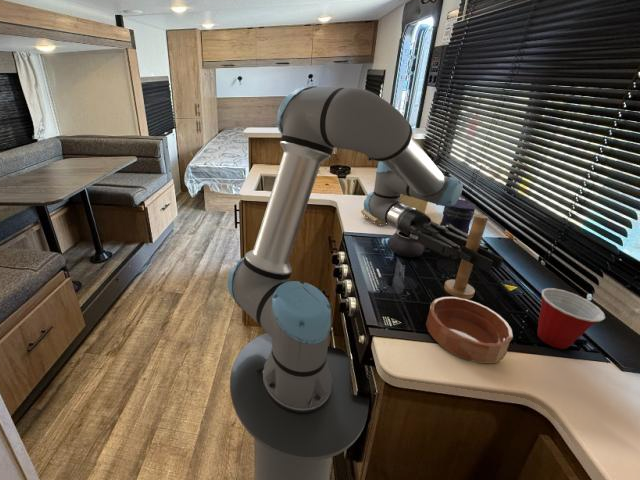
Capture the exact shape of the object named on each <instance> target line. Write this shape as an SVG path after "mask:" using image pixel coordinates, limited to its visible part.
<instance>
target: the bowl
mask: <svg viewBox="0 0 640 480" xmlns="http://www.w3.org/2000/svg"><path fill="white" fill-rule="evenodd" d="M425 326H426V329H427V332H428V333H429V335H430V336H431V337H432V339H433V340H434V341H435V342H436V343H438V344H439V345H440V346H441V347H442V348H443V349H445V350H447V351H448V352H451V353H452V354H454V355H455V356H457V357H460V358H463V359H465V360H468V361H472V362H475V363H476V362H477V363H481V364H490V363H491V364H494V363H497V362H499V361H502V360H504V358H505V356H506V355H507V354H508V353H507V352H508V350H509V349H510V346H511V343H512V341H513V339H514V334H513V329H512V327H511V326H510V325H509V323H508V321H507V320H505V319H504V318H503V317H502V316H501V315H500V314H499V313H497V312H496V311H494V310H493V309H491V308H489V307H488V306H485V305H483V304H481V303H480V302H476V301H473V300H471V299H462V298H458V297H455V296H441V297H438V298H435V299H434V300H433V301H432V302H431V303H430V306H429V310H428V313H427V317H426V320H425Z"/></svg>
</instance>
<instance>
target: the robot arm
mask: <svg viewBox="0 0 640 480" xmlns="http://www.w3.org/2000/svg"><path fill="white" fill-rule="evenodd" d="M276 124H277V125H278V126H277V128H278V129H277V130H278V131H279V133H280V134H281V136H280V140H279V144H280V146H281V148H282V150H283V153H282V157H281V160H280V164H279V167H278V169H277V173H276V175H275V179H274V182H273V186H272V189H271V192H270V195H269V199H268V201H267V205H266V208H265V212H264V215H263V217H262V220H261V224H260V228H259V231H258V234H257V237H256V241H255V244H254V246H253V249H251V250H249V251H247V252H246V253H245V254H244V257H242V258H240V259H239V260H237V262H236V264H234V265H233V266H232V267H231V269H230V271H229V273H228V277H227V291H228V293H229V295H230V297H231V298H232V299H233V301H234V302H235V304H236V305H237V306H238V307H239V308H240V309H242V310H243V311H244V312H245V313H246V314H247V315H248V316H249V317H250V318H251V319H252V320H254V322H255V323H256V324H257V325H259V326H260V328H261V329H263V330H264V331H265V332H266V333H268V334H269V335H270V336H271V338H272V350H271V352H270V354H269V356H268V358H267V360H266V363H265V366H262V367H258V368H257V369H256V370H257V372H262V371H263V383H264V387H265V390H266V392H267V394H268V396H269V397H270V398H271V400H272V401H273V402H274V403H275V404H276V405H278V406H279V407H280V408H282V409H284V410H286V411H288V412H291V413H295V414H310V413H313V412H316V411H318V410H320V409H321V408H322V407H324V406H325V405H326V403H327V402H328V400H329V398H330V395H331V391H332V377H331V372H330V369H329V366H328V363H327V360H326V357H327V349H328V346H329V340H330V332H331V329H332V310H331V304H330V302H329V300H328V298H327V297H326V295H325V294H324V293H323V292H322V291H321V290H320V289H319V288H317V287H316V286H314V285H312V284H310V283H308V282H303V283H301V281H299V280H290V279H291V275H292V272H293V266H291V263H290V262H289V261H290V257H291V255H292V251H293V249H294V246H295V243H296V239H297V236H298V234H299V231H300V227H301V224H302V221H303V218H304V216H305V212H306V210H307V206H308V203H309V202H310V201H309V200H310V199H311V195H312V191H313V188H314V185H315V183H316V179H317V176H318V173H319V170H320V167H321V164H322V163H323V162H324V161H326V160H328V159H330V158H331V157H332V154H333V151H334V149H335V148H336V149H343V150H348V151H353V152H356V153H360V154H364V156H366V157H368V158H369V159H370V160H372V161H374V162H378V163H377V168H376V171H375V180H374V187H373V191H372V192H370V193H368V194H367V195H366V198H365V199H364V200H363V209H364V208H365V210H366V211H367V212H368V213H370V214H371V215H372V216H373V217H375V218H378V219H380V220H382V221H383V222H385V223H387V225H389V226H390V227H392V228H394V229H396V230H399V231H401V232H402V233H404V234H406V235H408V236H409V237H410V238H409V240H411V241H414V242H417V243H420V244H422V245H424V246H426V247H427V248H428V249H430V250H432V251H434V252H435V253H438V254H440V255H442V256H444V257H450V256H451V259H452V260H458V258H460V259H464V260H466V261H468V262H469V263H471V264H473V266H475V267H477V268H478V269H480V270H482V271H484V272H486V273H489V272H490V271H491V270H492V269H491V268H494V269H496V270H500V269H501V266H502V264H503V261H504V257H503V256H500V255H498V254H496V253H495V252H492V251H490V250H488V249H486V248H483V247H482V246H480V245H479V248H478V252H475V251H473V250H471V249H469V248H467V247H465V246H466V243H467V239H468V236H469V233H468V234H466V233H464V232H462V231H460V230H458V229H457V228H455V227H453V226H452V225H451V224H449V223H447V224H446V226H440V223H438V222H434V221H432V219H431V218H430V216H429V214H427V213H426V212H425V213H423V212H421V211H419V210H416V209H415V208H413V207H410V206H408V205H406V204H404V203H401V202H400V201H399V199H400V195H401V194H403V195H406V196H410V197H414V198H417V199H420V200H424V201H427V202H428V203H431V204H434V205H436V206H440V207H441V206H442V207H451V206H453V205H455V204H456V202H457V201H458V200H460V198H461V196H462V193H463V189H464V188H463V186H464V184H463V182H462V181H461V180H460V179H457V178H454V177H452V176H444V175H443V174H442V173H443V172H442V170H440V169H439V167H438V165H437V166H436V165H435V164H434V163H433V161H432V160H431V159H430V158H429V156H428V155H427V154H426V153H425V151H426V150H424V149H423V148H422V146H421V145H420V144H419V143H418V142H417V140H416V139H415V138H414V136H413V133H414V132H413V131H414V130H413V127H412V125H411V123H410V122H409V121H408V120H407V119H406V117H405V116H404V115H403V114H402V113H401V112H400V111H399V110H398V109H397V108H395V106H394V105H392V104H391V103H390V102H388V101H387V100H386V99H384V98H382V97H381V96H379V95H378V94H376V93H374V92H372V91H370V90H368V89H364V88H360V87H352V86H349V87H348V86H347V87H339V86H338V87H337V86H336V87H335V86H334V87H333V86H316V85H312V86H306V87H299V88H296V89H294V90H292V91H291V92H289V93H288V94H287V95H286V96H285V97H284V98H283V100H282V102H281V103H280V105H279V107H278V111H277V114H276Z"/></svg>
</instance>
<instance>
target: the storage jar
mask: <svg viewBox="0 0 640 480" xmlns="http://www.w3.org/2000/svg"><path fill="white" fill-rule="evenodd" d="M476 207H477V206H476V204H475V203H473V202H471V201H469V200H465V199H459V200H458V201H457V202H456V204H455V205H453V206H451V207H445V206H443V211H442V218H441V221H440V223H439V225H440V226H446V224H447V223H449V224H451V225H452V226H453V227H455V228H457V229H458V230H460V231H462V232H464V233H466V234H468V235H469V232H470V224H471V222H472V221H473V219H474V216H475V210H476Z"/></svg>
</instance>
